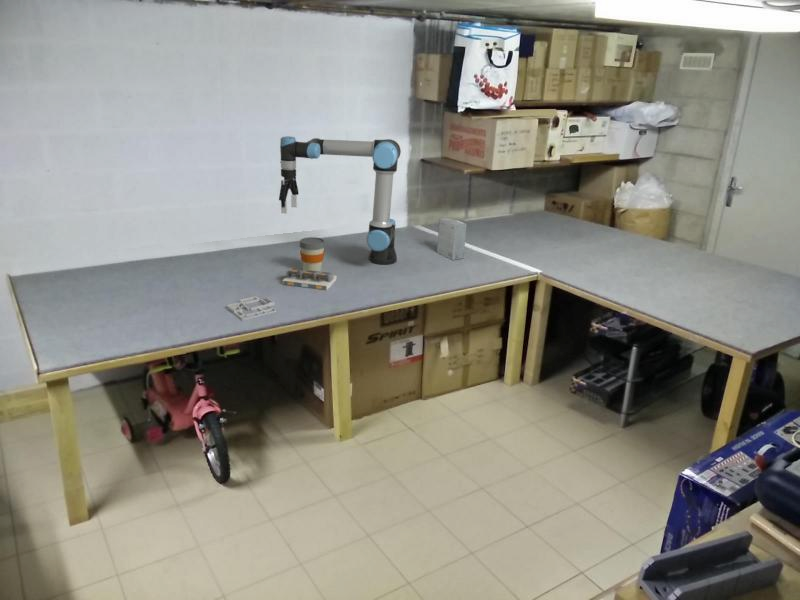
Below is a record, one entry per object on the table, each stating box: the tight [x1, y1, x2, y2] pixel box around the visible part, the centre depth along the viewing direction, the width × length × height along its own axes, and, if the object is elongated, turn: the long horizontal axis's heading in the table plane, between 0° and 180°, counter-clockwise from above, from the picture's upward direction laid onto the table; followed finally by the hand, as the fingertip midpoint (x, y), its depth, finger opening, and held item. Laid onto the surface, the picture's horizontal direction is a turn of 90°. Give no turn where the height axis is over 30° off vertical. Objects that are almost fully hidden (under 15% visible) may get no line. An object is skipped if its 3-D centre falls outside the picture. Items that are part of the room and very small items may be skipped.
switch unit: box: [282, 267, 337, 291], centre depth 300 cm, size 22×16×5 cm
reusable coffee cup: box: [299, 236, 326, 271], centre depth 315 cm, size 12×13×15 cm
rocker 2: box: [317, 271, 332, 278], centre depth 298 cm, size 5×10×1 cm, turn 168°
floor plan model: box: [226, 296, 277, 321], centre depth 270 cm, size 19×25×2 cm
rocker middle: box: [302, 270, 317, 276], centre depth 299 cm, size 5×10×1 cm, turn 168°
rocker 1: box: [288, 268, 304, 274], centre depth 300 cm, size 5×10×1 cm, turn 169°
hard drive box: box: [436, 217, 468, 261], centre depth 347 cm, size 16×8×20 cm, turn 34°
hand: (289, 210), depth 320 cm, fingers open, 13 cm apart
